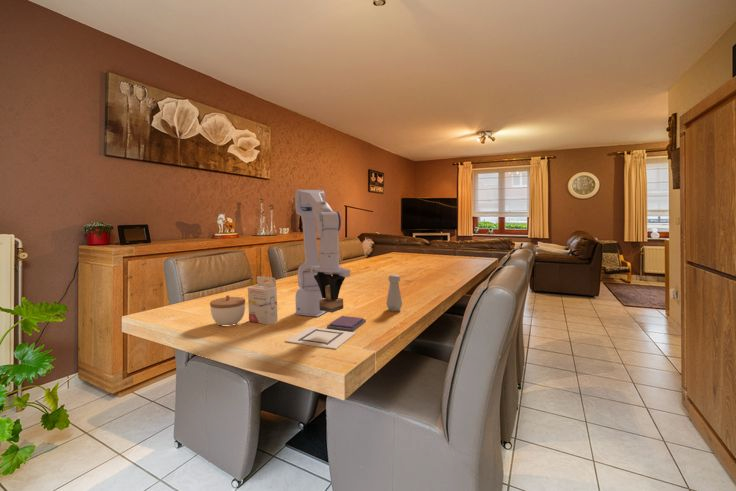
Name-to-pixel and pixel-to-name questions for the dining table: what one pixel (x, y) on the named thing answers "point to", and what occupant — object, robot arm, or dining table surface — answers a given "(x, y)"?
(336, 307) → the stamp
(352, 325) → the ink pad
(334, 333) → the marked sheet
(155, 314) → the dining table surface
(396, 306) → the salt shaker
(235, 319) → the lidded jar
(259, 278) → the ink cartridge box
